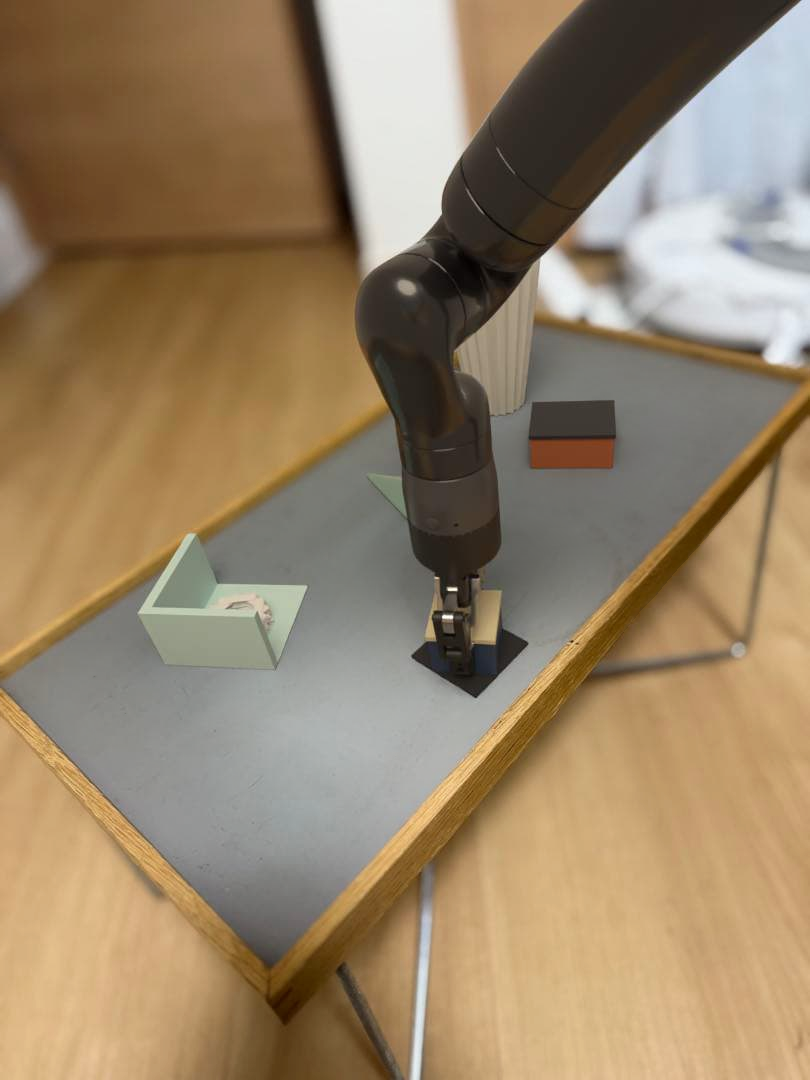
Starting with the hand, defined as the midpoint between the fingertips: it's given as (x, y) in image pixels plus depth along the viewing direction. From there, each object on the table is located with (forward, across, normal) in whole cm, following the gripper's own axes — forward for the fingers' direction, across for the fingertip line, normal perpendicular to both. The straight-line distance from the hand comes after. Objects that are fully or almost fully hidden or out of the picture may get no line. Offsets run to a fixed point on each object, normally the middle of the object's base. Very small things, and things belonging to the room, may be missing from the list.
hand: (468, 642), depth 67 cm
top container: (+1, 0, 0) cm, 1 cm away
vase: (+1, +48, +2) cm, 48 cm away
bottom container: (+1, +35, -9) cm, 36 cm away
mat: (+1, 0, 0) cm, 1 cm away
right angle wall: (+2, +2, +25) cm, 25 cm away
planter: (+1, +22, +11) cm, 25 cm away
